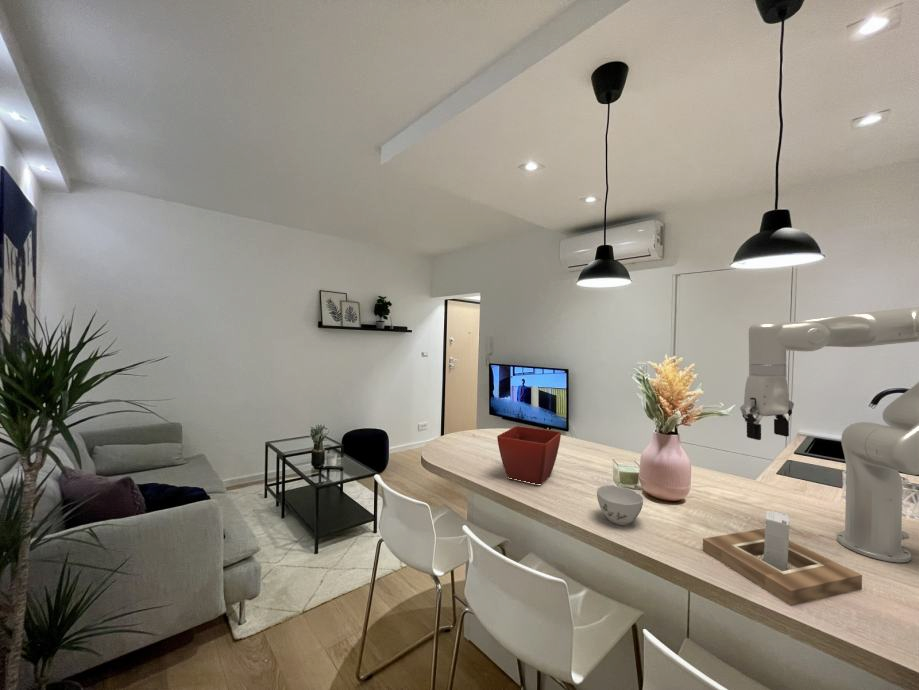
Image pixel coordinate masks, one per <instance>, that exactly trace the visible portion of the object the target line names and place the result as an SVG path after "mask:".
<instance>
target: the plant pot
mask: <svg viewBox="0 0 919 690" xmlns="http://www.w3.org/2000/svg"><path fill="white" fill-rule="evenodd" d="M561 437H562V433H561V431H557V430H549V429H543V428H534V427H527V426H518V425H516V426H514V427H511V428H509V429H508V430H506V431H504V432H502V433H500V434H499V435H497V436H496V439H497V445H498V451H499V453H500V458H501V461H502V465H503V468H504V470H505V474H506V477H507V478H508V477H509V478H512V479H517V480H521V481H526V482H530V483H535V484H541V485H543V484H544V483H545V481H546V480H548V479H549V478H550V476H551V475H552V472H553V469H554V467H555V463H556V461H557V457H558V456H557V455H558V453H559V448H560V442H561Z"/></svg>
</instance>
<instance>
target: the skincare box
mask: <svg viewBox="0 0 919 690" xmlns="http://www.w3.org/2000/svg"><path fill="white" fill-rule="evenodd" d="M765 517H766V518H765V528H764V529H765V540H764V554H763V559H762V560H763V561H764V562H766V563H768V564H770V565H772V566H773V567H775V568H777V569H779V570H781V571H786V570H788V568H789V566H788V565H789V562H788V546H789V540H790V515H789V514H787V513H783V512H782V513H781V512H777V511H773V510H768V509H767V510H766V512H765Z"/></svg>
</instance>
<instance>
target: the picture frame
mask: <svg viewBox="0 0 919 690" xmlns="http://www.w3.org/2000/svg"><path fill="white" fill-rule="evenodd" d="M764 540H765V528H760V529H759V528H758V529H753V530H746V531H740V532H735V533H730V534H729V533H727V534H722V535H717V536H709V537H706V538H705V537H703V538H702V551H703V552H705V554H708V555H710V556H711V557H713V558H714V559H716V560H717V561H719V562H721V563H722V564H724V565H725V566H727V567H728V568H730V569H731V570H734V571H735V572H736V573H739V575H742V576H743V577H745V579H746V578H747V580H749V581H751V582H752V583H755V584H756V585H758V586H759V587H761V588H762V589H764V590H765V591H766V592H769V593H770V594H771V595H774V596H775V597H776V598H778V599H779V600H781V601H783V602H785V603H786V604H788V605H789V606H794V605H795V606H796V605H799V604H804V603H808V602H812V601H815V600H821V599H824V598H829V597H833V596H838V595H842V594H846V593H849V592H854V591H858V590H862V589H863V588H862V587H863V575H862V574H861V573H858V572H857V571H855V570H852V569H850V568H848V567H847V566H844V565H842V564H841V563H838V562H837V561H834V560H831V559H829V558H828V557H825V556H823V555H821V554H819V553H817V552H815V551H813V550H810V549H808V548H806V547H804V546H802V545H800V544H798V543H796V542H794V541H792V540H790V539H789V546H788V564H790V565H792V566H795V567H796V568H792V569H787V570H786V571H781V570H779V569H777V568H775V567H773V566H772V565H770V564H768V563H766V562H764V561H763V560H764V559H761V558H759V557H758V556H760V555H761V556H762V555H764Z"/></svg>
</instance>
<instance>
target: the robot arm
mask: <svg viewBox="0 0 919 690" xmlns="http://www.w3.org/2000/svg"><path fill="white" fill-rule="evenodd" d="M915 342H916V343H917V342H919V306H914V307H905V308H904V307H903V308H897V309H885V310H878V311H877V310H876V311H869V312H859V313H851V314H844V315H838V316H837V315H836V316H832V317H831V316H830V317H824V318H816V319H815V318H814V319H805V320H798V321H796V320H795V321H788V322H787V321H786V322H780V323H779V322H778V323H777V322H776V323H774V322H773V323H772V322H771V323H756V324H755V323H754V324H752V325H750V327H749V328H748V376H747V378H746V382H745V388H744V398H743V404H742V405H741V406H740V411H741V414H742V417H743V419H744V423H746V437H747V438H748V439H752V440H756V441H760V440H762V424H761V420H762V419H763V417H773V416H774V419H773V434H775V435H778V436H782V437H790V422H789V421H791V415H792V414H793V408H794V406H795V404H794V402H792V401H791V400H790V396H789V395H790V394H789V387H788V386H789V385H788V380H787V378H788V377H787V373H788V372H787V351H788V352H790V351H791V352H814V351H818V350H822V349H823V348H824V347H827V348H828V347H838V348H839V347H840V348H862V347H863V348H865V347H875V346H886V345H895V344H905V343H906V344H908V343H915ZM882 421H884V422H885V424H886V425H884V424H879V423H874V422H870V421H869V422H867V421H866V422H865V421H861V422H860V421H859V422H855V423H851V424H850V425H848V426H847V427H846V428H845V429H844V430H843V431H842V434H841V439H840V440H841V447H842V452H843V455H844V461H845V512H844V513H845V521H844V526H845V527H844V528H845V529H844V531H840V532H837V533H836V540H837V541H838V543H839V544H841V545H842V546H843V547H845V548H847V549H849V550H851V551H853V552H855V553H858V554H861V555H862V556H866V557H869V558H873V559H876V560H880V561H885V562H888V563H889V562H890V563H907V562H910V561H911V560H912V554H911V552H910V551H909V550H908V549H906V548H905V547H903V546H902V541H904V540H907V539H909V538H910V535H909V534H908V532H906V531H904V530H902V529H903V528H902V525H903V523H902V522H903V521H902V520H903V481H902V477H901V475H900V472H901V473H904V474H907V475H913V476H914V475H918V476H919V381H918V382H917V383H916V384H915V385H913V386H912V387H911V388H909V389H908V390H906V391H905V392H903V393H902V394H901V395H899V396H898V397H897V398H895V399H894V400H893V401H892V402H890V403H889V404H888V405H887V406H886V407H885V408H884V409H883V412H882Z"/></svg>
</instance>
